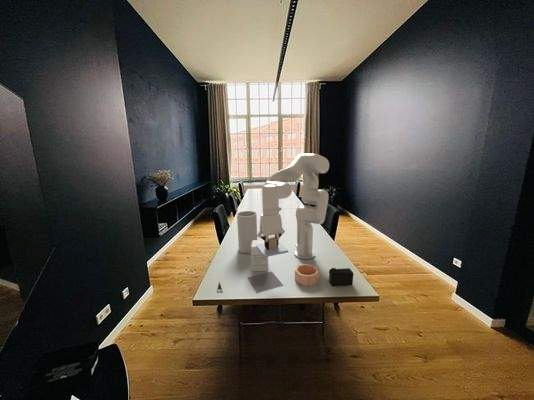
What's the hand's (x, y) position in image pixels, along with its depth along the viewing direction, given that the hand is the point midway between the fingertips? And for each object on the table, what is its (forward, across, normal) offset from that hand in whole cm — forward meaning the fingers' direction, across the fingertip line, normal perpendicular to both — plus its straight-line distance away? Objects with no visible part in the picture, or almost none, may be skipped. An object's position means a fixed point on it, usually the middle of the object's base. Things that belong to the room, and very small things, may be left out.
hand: (271, 247), depth 106 cm
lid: (+1, 0, 0) cm, 1 cm away
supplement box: (+19, +1, -15) cm, 24 cm away
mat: (+19, +4, -1) cm, 19 cm away
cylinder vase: (+19, +1, -40) cm, 44 cm away
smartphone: (+19, +22, -8) cm, 30 cm away
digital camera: (+19, -30, +14) cm, 39 cm away
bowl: (+19, -16, +6) cm, 26 cm away
